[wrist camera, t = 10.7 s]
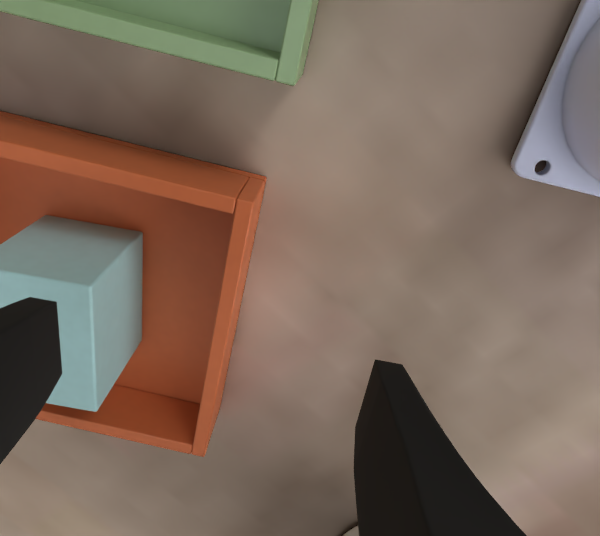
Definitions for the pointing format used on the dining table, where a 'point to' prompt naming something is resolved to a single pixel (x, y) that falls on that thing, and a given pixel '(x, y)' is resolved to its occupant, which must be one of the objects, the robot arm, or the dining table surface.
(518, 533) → the robot arm
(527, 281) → the dining table surface
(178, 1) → the sage tote
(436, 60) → the dining table surface
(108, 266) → the light blue box
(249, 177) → the terracotta tote
